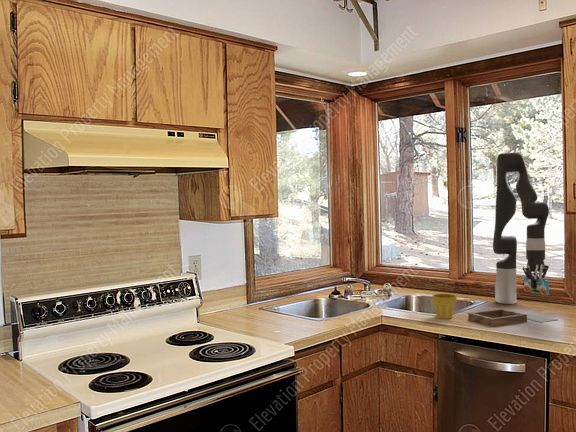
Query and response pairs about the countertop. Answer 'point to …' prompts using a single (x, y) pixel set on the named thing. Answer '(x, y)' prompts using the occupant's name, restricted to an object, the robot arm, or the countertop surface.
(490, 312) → the tray
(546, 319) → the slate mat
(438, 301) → the plant pot
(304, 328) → the countertop surface
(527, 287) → the snack box
